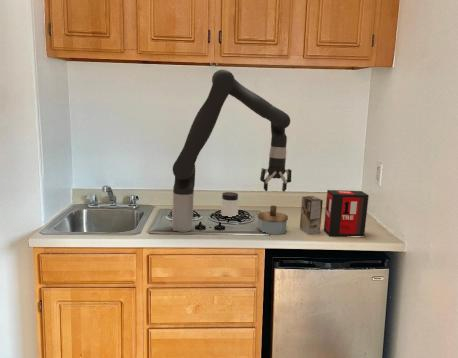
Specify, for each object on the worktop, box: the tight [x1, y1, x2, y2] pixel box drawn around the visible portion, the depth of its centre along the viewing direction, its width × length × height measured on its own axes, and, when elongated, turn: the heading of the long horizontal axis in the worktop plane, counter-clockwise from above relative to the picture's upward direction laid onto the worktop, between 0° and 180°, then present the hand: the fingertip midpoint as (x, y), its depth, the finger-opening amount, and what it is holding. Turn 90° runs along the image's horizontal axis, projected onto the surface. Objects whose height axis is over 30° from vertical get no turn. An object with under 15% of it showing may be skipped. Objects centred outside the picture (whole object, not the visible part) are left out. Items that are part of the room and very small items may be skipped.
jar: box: [220, 191, 239, 217], centre depth 221 cm, size 9×8×12 cm
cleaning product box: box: [323, 189, 370, 238], centre depth 200 cm, size 16×9×20 cm, turn 94°
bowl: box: [258, 218, 288, 235], centre depth 201 cm, size 12×12×6 cm
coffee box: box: [299, 195, 324, 235], centre depth 202 cm, size 9×6×16 cm
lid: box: [257, 205, 289, 222], centre depth 200 cm, size 14×14×6 cm
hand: (274, 190), depth 198 cm, fingers open, 8 cm apart
